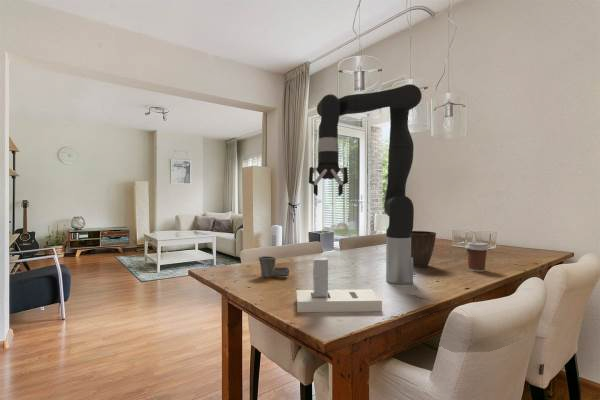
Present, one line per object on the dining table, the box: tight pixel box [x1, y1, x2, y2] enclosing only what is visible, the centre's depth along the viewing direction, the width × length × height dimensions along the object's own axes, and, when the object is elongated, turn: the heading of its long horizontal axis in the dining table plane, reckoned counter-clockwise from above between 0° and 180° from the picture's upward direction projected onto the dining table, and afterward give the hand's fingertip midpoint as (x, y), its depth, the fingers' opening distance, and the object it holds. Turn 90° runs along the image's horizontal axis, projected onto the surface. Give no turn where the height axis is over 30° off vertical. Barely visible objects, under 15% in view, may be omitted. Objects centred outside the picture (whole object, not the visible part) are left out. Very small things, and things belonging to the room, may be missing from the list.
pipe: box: [258, 255, 290, 278], centre depth 128 cm, size 6×13×8 cm, turn 78°
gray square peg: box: [312, 256, 329, 298], centre depth 94 cm, size 4×4×14 cm
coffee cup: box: [465, 241, 489, 273], centre depth 140 cm, size 9×9×12 cm
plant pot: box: [411, 230, 437, 268], centre depth 150 cm, size 15×15×16 cm
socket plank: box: [296, 288, 383, 313], centre depth 94 cm, size 24×11×3 cm, turn 92°
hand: (328, 195), depth 115 cm, fingers open, 8 cm apart
